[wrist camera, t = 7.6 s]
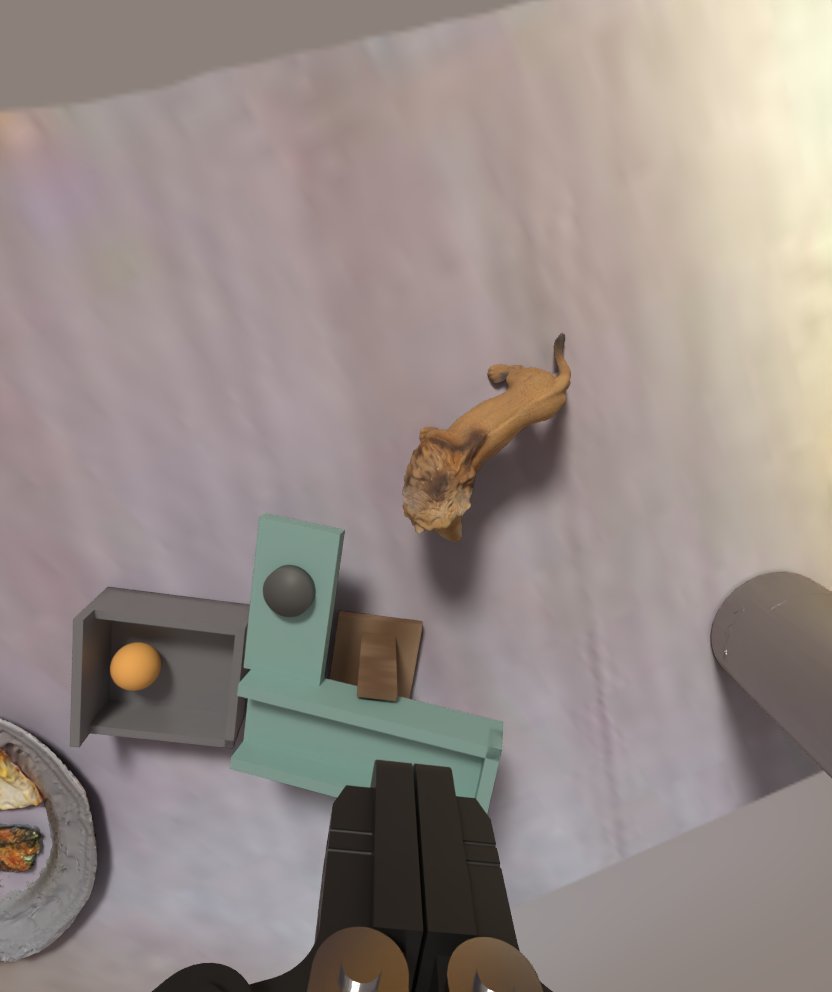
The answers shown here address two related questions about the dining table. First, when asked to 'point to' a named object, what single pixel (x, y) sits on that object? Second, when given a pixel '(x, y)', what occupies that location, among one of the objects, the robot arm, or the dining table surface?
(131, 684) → the ball
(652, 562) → the dining table surface
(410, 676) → the fulcrum
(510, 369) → the lion figurine
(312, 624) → the lever
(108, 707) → the tray
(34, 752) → the food plate
